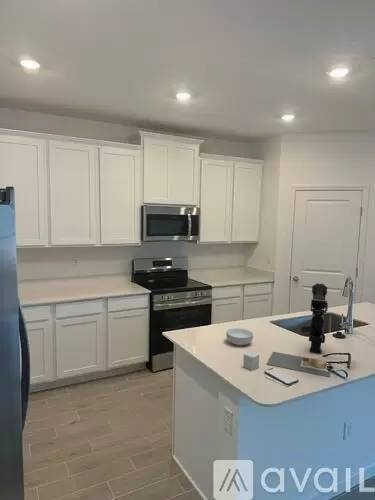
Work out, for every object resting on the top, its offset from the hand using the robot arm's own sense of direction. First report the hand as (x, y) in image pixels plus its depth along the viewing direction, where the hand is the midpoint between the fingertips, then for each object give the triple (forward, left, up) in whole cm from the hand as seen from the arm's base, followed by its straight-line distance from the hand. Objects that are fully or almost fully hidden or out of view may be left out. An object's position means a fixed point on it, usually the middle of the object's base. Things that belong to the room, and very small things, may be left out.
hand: (315, 349), depth 184 cm
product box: (+16, -31, -10) cm, 37 cm away
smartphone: (+20, -15, -11) cm, 27 cm away
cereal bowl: (-15, -46, -10) cm, 49 cm away
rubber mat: (0, -8, -10) cm, 13 cm away
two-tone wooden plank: (0, 0, -9) cm, 9 cm away
